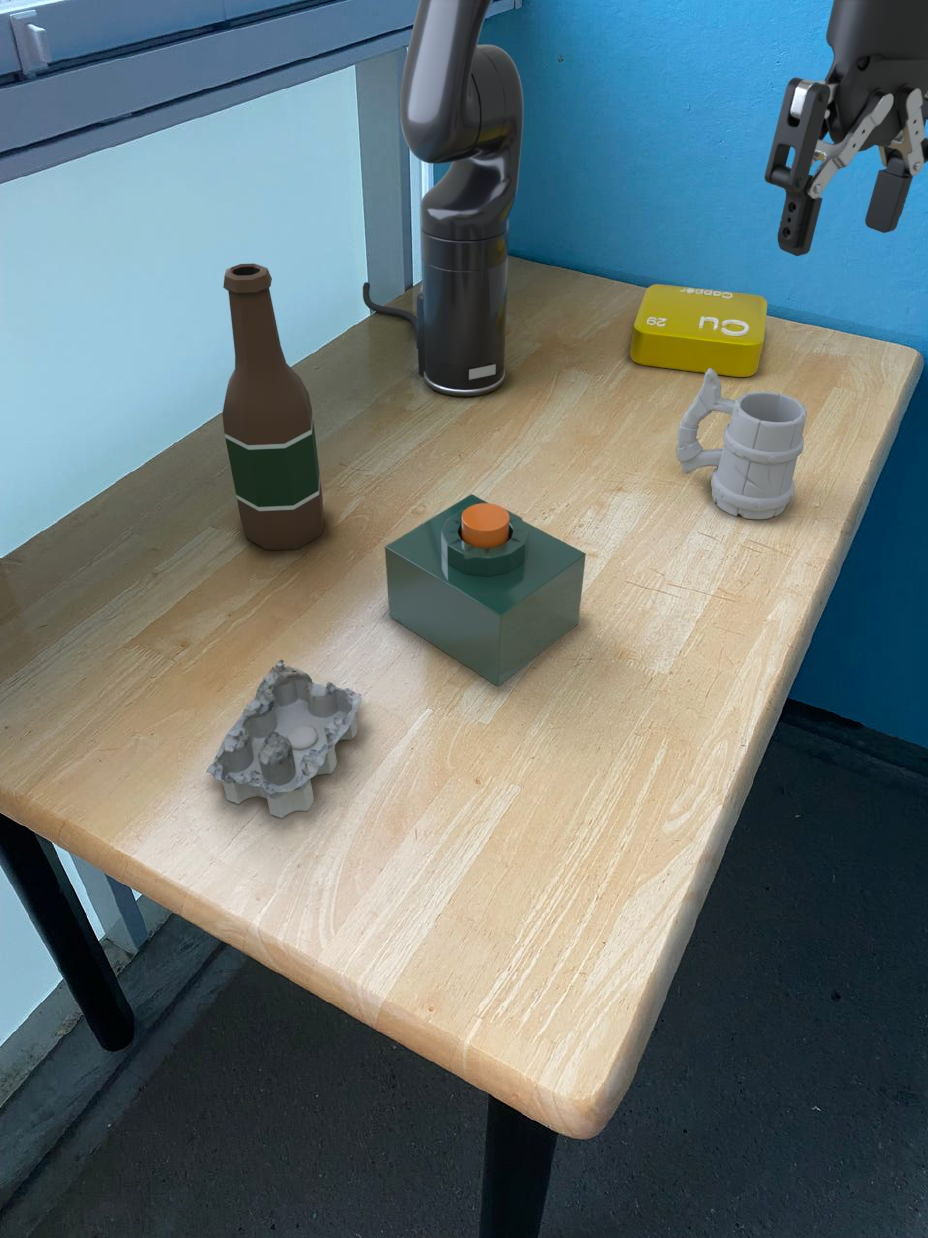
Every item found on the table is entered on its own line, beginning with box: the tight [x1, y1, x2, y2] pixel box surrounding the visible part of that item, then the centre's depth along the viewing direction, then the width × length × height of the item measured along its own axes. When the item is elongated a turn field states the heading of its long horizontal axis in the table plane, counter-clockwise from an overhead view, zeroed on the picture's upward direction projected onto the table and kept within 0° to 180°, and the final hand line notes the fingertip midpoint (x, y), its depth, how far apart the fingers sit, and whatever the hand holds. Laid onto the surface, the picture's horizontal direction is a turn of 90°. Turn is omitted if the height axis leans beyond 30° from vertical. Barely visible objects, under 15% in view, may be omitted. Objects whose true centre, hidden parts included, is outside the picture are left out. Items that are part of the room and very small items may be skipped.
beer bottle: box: [221, 263, 324, 551], centre depth 78 cm, size 8×8×24 cm
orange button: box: [462, 502, 510, 548], centre depth 70 cm, size 4×4×2 cm
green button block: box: [384, 493, 587, 687], centre depth 74 cm, size 12×10×9 cm
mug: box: [675, 368, 808, 520], centre depth 87 cm, size 8×12×12 cm, turn 62°
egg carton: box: [205, 659, 362, 819], centre depth 64 cm, size 11×8×4 cm
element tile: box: [629, 283, 768, 378], centre depth 113 cm, size 15×15×5 cm
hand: (836, 240), depth 65 cm, fingers open, 8 cm apart
